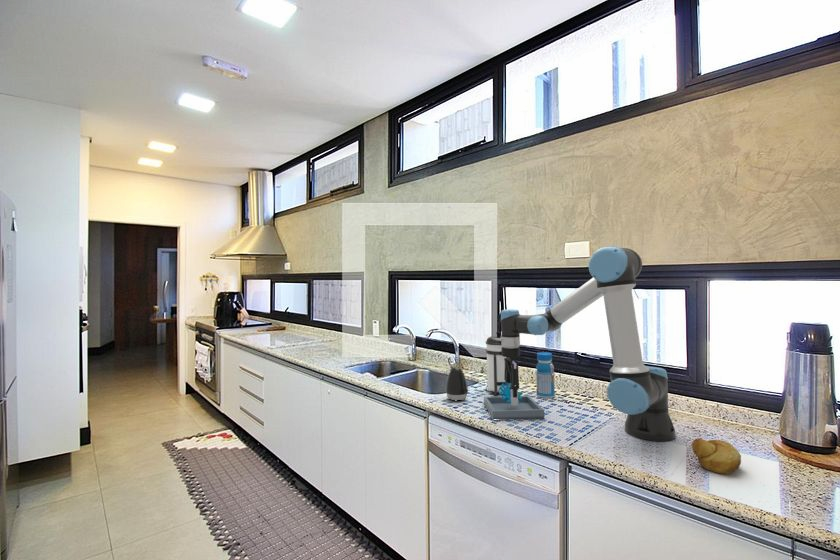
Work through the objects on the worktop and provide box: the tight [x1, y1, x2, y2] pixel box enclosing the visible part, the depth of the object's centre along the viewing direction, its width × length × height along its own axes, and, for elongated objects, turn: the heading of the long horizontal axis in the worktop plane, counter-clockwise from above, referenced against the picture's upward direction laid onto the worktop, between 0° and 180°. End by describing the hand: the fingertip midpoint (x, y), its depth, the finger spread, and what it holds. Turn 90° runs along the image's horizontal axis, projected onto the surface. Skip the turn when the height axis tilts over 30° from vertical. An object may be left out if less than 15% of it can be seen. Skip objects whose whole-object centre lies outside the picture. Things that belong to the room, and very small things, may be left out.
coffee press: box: [484, 330, 506, 397], centre depth 190 cm, size 17×16×30 cm
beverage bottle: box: [535, 351, 556, 399], centre depth 183 cm, size 8×8×20 cm
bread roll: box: [691, 437, 742, 475], centre depth 110 cm, size 13×10×8 cm
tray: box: [483, 395, 545, 420], centre depth 162 cm, size 20×20×4 cm
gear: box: [498, 382, 524, 404], centre depth 163 cm, size 11×6×10 cm
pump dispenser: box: [445, 366, 469, 401], centre depth 181 cm, size 10×10×15 cm
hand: (512, 401), depth 162 cm, fingers closed on gear, 8 cm apart
